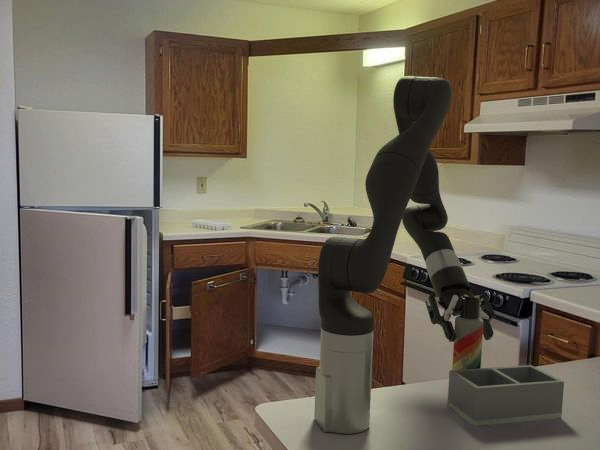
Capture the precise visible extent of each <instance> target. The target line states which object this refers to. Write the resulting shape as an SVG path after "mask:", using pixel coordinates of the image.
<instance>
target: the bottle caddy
mask: <svg viewBox="0 0 600 450" xmlns="http://www.w3.org/2000/svg"><path fill="white" fill-rule="evenodd" d="M564 387H565V381H563V380H562V379H560V378H557V377H556V376H553V375H552V374H550V373H548V372H545V371H544V370H541V369H540V368H538V367H536V366H534V365H532V364H527V365H514V366H513V365H512V366H511V365H509V366H499V367H497V366H496V367H484V368H483V367H482V368H479V369H464V370H452V369H451V370H449V373H448V392H447V407H449V408H450V409H451V410H453V411H454V412H456V414H458V415H459V416H460V417H461V418H463V419H465V421H467V422H468V423H469V424H471V425H472V426H473V427H481V426H493V425H502V424H512V423H522V422H523V423H524V422H532V421H534V422H535V421H542V420H545V421H546V420H553V419H554V420H555V419H562V415H563V414H562V412H563V402H564V401H563V400H564Z"/></svg>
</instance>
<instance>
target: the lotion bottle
mask: <svg viewBox="0 0 600 450" xmlns="http://www.w3.org/2000/svg"><path fill="white" fill-rule="evenodd" d="M479 311H480V298H476V297H468V296H461V304H460V315H458V316H455V318H454V331H455V333H456V339H455V340H454V342H453V349H452V350H453V351H452V366H451V367H452V369H451V370H464V369H479V368H481V367H482V353H483V337H484V335H483V320H482V319H481V318H482V317H481V318H479Z"/></svg>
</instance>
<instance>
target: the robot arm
mask: <svg viewBox="0 0 600 450" xmlns="http://www.w3.org/2000/svg"><path fill="white" fill-rule="evenodd" d="M451 87H452V86H451V84H450V82H449V81H448V80H447V79H445V78H442V77H437V76H432V77H431V76H416V75H415V76H414V75H407V76H406V75H405V76H402V77H400V78H399V79H398V80H397V82H396V85H395V87H394V90H393V98H392V99H393V100H392V101H393V102H392V103H393V111H394V112H393V113H394V117H395V123H396V126H397V130H398V135H396V136H395V137H393V138H392V139H391V140H389V141H387V143H385V144H384V145H383V146H382V147H381V148H380V149H379V150H378V151H377V152H376V155H375V157H374V159H373V161H372V162H371V165H370V167H369V170H368V172H367V173H366V177H365V185H364V186H365V192H366V197H367V199H368V202H369V206H370V209H371V212H372V217H373V222H372V225H371V228H370V231H369V233H368V235H367V237H366V238H356V237H346V236H330V237H329V238H328V239H326V240H325V241H324V242H323V244H322V246H321V248H320V252H319V257H318V267H317V277H318V278H317V281H318V282H317V284H318V288H317V289H318V312H319V318H320V344H319V346H320V347H319V350H320V351H319V366H317V367H316V368H315V383H314V384H315V389H314V413H313V414H314V420H315V421H316V423H317V424H318V425H319V427H320V428H321V430H322V431H323V432H325V433H326V432H328V433H329V432H332V433H337V434H345V435H346V434H349V435H350V434H357V433H358V434H359V433H362V432H364V431H366V430H367V429H368V428H369V426H370V422H371V421H370V420H371V400H372V399H371V397H372V396H371V394H372V376H373V375H372V373H373V353H374V352H373V349H374V329H375V327H374V326H375V325H374V324H375V317H374V315H373V313H372V312H371V311H370V310H368V309H366V308H365V307H364V306H362V305H360V304H359V303H358V302H357V301H356V300H355V299H354V298H353V297H352V295H351V293H350V292H353V293H354V292H355V293H360V294H372V293H374V292H375V291H377V290H378V289H379V287H380V286H381V285H382V282H383V280H384V278H385V275H386V272H387V270H388V267H389V263H390V260H391V258H392V257H391V255H392V252H393V249H394V245H395V242H396V239H397V234H398V231H399V228H400V225H401V224H402V225H403V227H404V229H405V231H406V232H407V234H408V235H409V236H410V238H412V240H413V241H414V243H415V244H416V245H417V246H418V249H419V250H420V251H421V255H422V257H423V260H424V263H425V266H426V270H427V274H428V276H429V280H430V282H431V286H432V289H433V291H434V293H435V294H432V293H431V294H429V295H428V297H427V298H426V300H425V302H424V303H425V306H426V309H427V313H428V316H429V320H430V322H431V324H432V325H436V324H437V325H439V326H440V327H442V331H443V334H444V336H445V338H446V340H448V342H450V343H454V340H455V339H456V333H455V331H454V329H455V327H454V325H453V323H452V321H450V319H451V317H457V316H460V304H461V296H468V297H476V298H480V311H479V318H481V319H482V320H483V337H484V340H485V341H490V340H492V338H493V337H494V334H495V333H494V329H493V328H492V325H491V323H490V322H492V320H493V319H494V318H495V317H496V313H495V310H494V308H493V306H492V304H491V302H490V300H489V298H488V296H487V294H486V293H485V292H481V294H480V295H479V294H478V295H474V294H473V293H472V291H471V288H470V283H469V280H468V277H467V275H466V273H465V270H464V268H463V266H462V262H461V261H460V259H459V257H458V255H457V254H456V252H455V249H454V247H453V244H452V242H451V240H450V237H449V236H448V235H447V233H445V232H442V231H441V230H443V229H444V228H446V226H447V224H448V220H449V217H448V213H447V210H446V207H445V205H444V203H443V200H442V197H441V193H440V179H439V178H440V177H439V174H440V173H439V172H440V171H439V165H438V163H437V160H436V158H435V156H434V155H433V154H432V152H431V150H430V147H431V146H432V143H433V142H434V140H435V137H436V136H437V133H439V130H440V128H441V126H442V124H443V122H444V120H445V118H446V116H447V114H448V110H449V108H450V105H451V102H452V101H451V99H452V88H451ZM410 200H411V201H412V202H414V203H415V204H416V205H412V206H408V205H409V202H410ZM438 305H439V306H440V307H441V308H442V309H444V310H443V313H442V314H441V312H440V309H439V306H438Z"/></svg>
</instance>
